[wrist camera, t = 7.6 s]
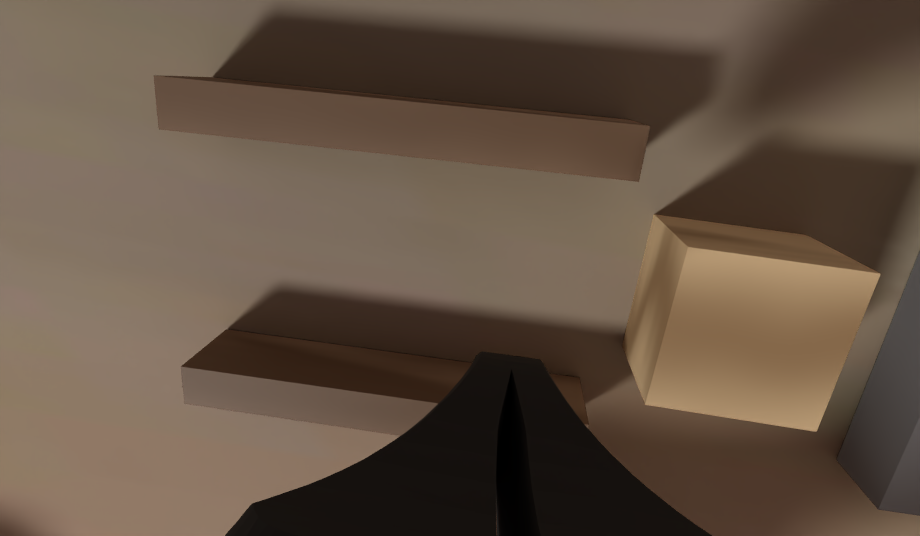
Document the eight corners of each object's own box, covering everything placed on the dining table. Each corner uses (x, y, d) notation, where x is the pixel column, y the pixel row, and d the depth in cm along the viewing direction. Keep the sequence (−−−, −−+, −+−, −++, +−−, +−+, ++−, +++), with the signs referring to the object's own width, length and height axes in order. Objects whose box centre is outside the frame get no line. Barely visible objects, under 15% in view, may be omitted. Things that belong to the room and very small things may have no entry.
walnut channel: (573, 411, 21) (581, 462, 18) (228, 362, 22) (184, 403, 19) (628, 119, 17) (650, 125, 14) (211, 77, 18) (153, 75, 15)
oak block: (759, 364, 19) (816, 431, 16) (621, 343, 20) (644, 404, 16) (804, 233, 18) (880, 273, 14) (653, 213, 18) (688, 246, 14)
